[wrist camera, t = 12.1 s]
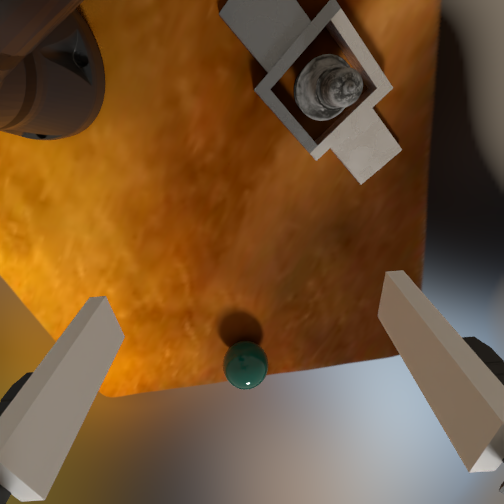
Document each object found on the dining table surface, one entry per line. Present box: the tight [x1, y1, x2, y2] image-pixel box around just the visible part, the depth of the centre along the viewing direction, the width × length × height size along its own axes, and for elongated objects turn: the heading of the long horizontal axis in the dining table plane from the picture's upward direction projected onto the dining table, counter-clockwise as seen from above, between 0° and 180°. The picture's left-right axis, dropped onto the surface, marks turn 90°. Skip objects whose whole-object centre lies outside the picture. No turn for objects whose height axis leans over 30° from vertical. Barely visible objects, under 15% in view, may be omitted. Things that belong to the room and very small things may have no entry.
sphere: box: [223, 341, 268, 390], centre depth 48 cm, size 8×8×8 cm
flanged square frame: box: [219, 0, 402, 184], centre depth 30 cm, size 24×10×2 cm, turn 46°
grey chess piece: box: [294, 54, 363, 121], centre depth 26 cm, size 6×6×12 cm
